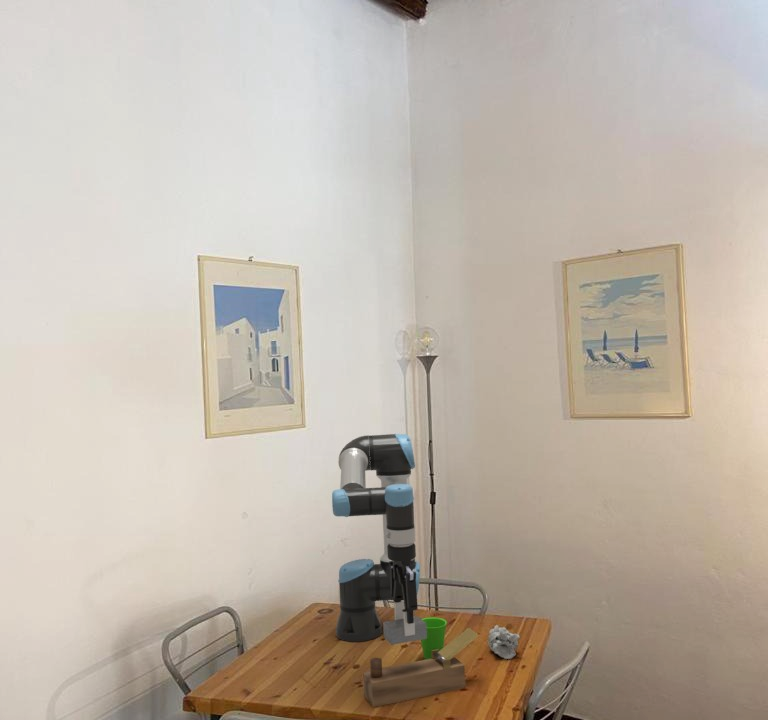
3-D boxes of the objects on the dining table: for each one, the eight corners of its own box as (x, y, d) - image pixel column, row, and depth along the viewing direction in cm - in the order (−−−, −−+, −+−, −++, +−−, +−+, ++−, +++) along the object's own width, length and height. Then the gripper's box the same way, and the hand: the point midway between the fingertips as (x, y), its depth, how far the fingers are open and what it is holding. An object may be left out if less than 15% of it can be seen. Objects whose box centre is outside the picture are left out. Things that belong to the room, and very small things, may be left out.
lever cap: (383, 637, 191) (383, 619, 191) (418, 630, 194) (417, 613, 194) (391, 644, 185) (390, 627, 185) (427, 638, 189) (426, 620, 189)
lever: (433, 653, 195) (467, 626, 199) (435, 658, 195) (469, 630, 199) (442, 661, 189) (477, 633, 193) (444, 665, 190) (479, 637, 193)
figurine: (505, 628, 206) (501, 607, 218) (484, 653, 208) (480, 631, 220) (528, 645, 207) (522, 623, 218) (506, 670, 208) (502, 647, 220)
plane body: (363, 694, 189) (362, 656, 189) (452, 676, 198) (450, 640, 198) (373, 707, 181) (371, 667, 182) (465, 687, 190) (463, 649, 191)
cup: (447, 666, 205) (445, 628, 205) (415, 665, 206) (414, 627, 207) (450, 654, 213) (448, 617, 214) (420, 653, 215) (418, 616, 216)
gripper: (376, 537, 198) (379, 621, 197) (401, 553, 180) (405, 645, 180) (401, 534, 200) (404, 617, 200) (428, 549, 182) (432, 640, 182)
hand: (404, 630), depth 190 cm, fingers closed on lever cap, 6 cm apart
